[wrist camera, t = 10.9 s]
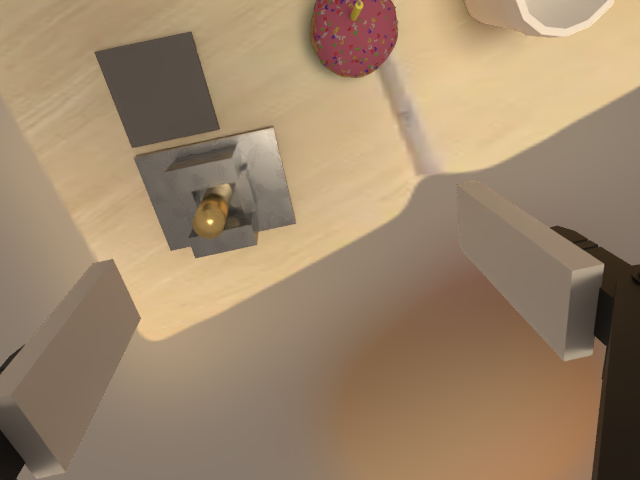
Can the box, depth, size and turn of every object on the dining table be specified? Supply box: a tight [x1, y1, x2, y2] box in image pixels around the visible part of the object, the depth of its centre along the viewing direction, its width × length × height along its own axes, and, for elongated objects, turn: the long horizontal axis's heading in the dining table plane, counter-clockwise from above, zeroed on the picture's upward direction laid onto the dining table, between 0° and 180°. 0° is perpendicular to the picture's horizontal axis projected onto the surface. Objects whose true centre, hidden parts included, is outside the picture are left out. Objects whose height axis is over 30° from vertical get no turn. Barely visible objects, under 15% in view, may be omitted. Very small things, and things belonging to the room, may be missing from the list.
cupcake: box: [311, 0, 398, 78], centre depth 39 cm, size 9×8×12 cm
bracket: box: [134, 127, 296, 258], centre depth 47 cm, size 12×16×7 cm
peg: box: [192, 184, 233, 239], centre depth 44 cm, size 3×3×10 cm
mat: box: [95, 32, 220, 148], centre depth 44 cm, size 10×10×1 cm
